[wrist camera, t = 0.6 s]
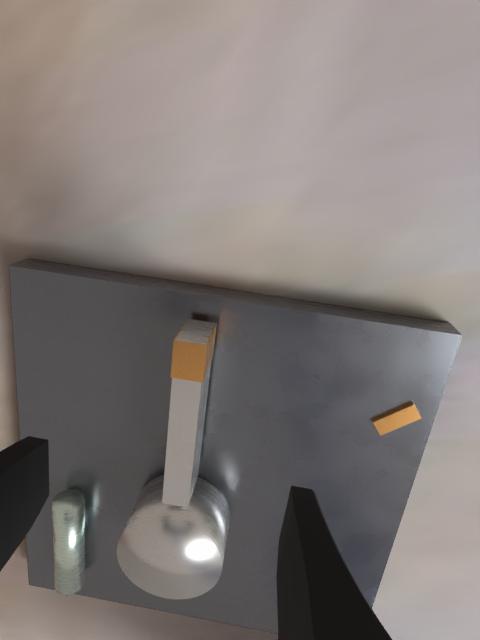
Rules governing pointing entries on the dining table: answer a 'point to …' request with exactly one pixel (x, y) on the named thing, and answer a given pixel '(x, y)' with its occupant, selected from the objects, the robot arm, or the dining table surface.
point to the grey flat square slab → (218, 424)
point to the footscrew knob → (180, 489)
